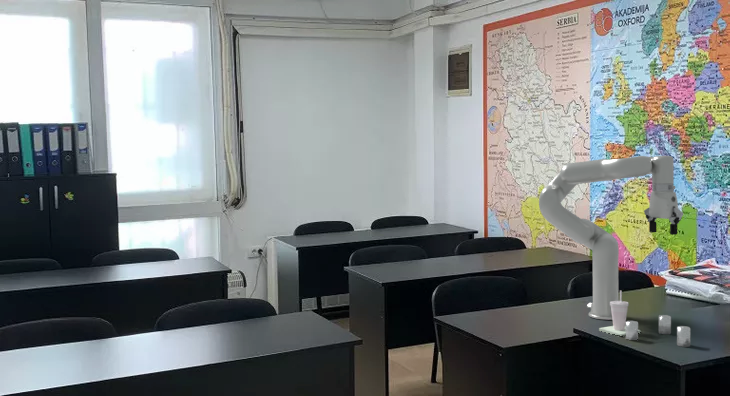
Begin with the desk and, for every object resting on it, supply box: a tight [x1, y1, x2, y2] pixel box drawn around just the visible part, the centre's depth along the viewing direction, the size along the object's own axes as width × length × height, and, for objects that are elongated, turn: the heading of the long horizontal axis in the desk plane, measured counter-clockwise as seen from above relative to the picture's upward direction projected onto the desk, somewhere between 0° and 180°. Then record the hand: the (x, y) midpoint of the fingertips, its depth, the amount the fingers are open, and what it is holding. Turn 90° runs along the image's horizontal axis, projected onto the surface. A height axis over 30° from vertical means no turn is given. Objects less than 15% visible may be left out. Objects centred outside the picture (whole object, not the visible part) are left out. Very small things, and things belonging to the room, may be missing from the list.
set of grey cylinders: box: [625, 314, 691, 348], centre depth 242 cm, size 18×20×6 cm
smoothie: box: [610, 290, 630, 330], centre depth 255 cm, size 6×6×14 cm
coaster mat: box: [598, 325, 642, 336], centre depth 255 cm, size 10×10×1 cm
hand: (663, 233), depth 270 cm, fingers open, 9 cm apart
